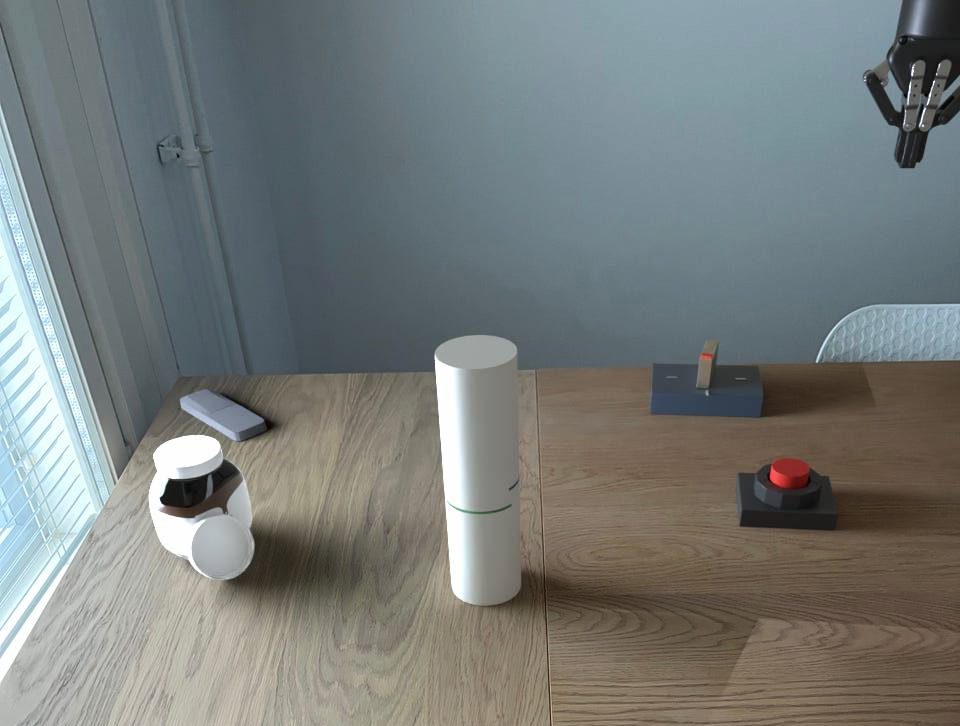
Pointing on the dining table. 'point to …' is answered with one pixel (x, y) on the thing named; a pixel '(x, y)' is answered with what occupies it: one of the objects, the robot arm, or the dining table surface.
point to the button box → (785, 502)
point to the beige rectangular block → (707, 364)
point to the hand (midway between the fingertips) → (905, 166)
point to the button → (789, 473)
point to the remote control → (223, 414)
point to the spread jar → (202, 507)
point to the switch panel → (706, 391)
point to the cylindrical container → (481, 465)
